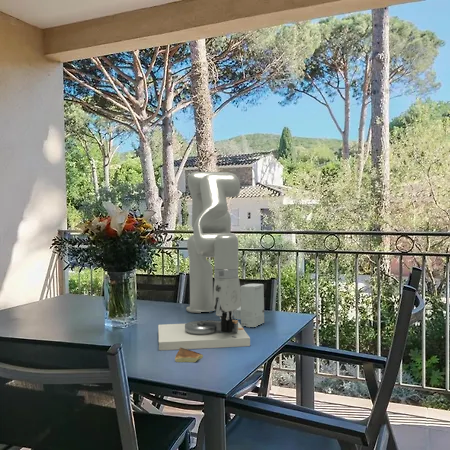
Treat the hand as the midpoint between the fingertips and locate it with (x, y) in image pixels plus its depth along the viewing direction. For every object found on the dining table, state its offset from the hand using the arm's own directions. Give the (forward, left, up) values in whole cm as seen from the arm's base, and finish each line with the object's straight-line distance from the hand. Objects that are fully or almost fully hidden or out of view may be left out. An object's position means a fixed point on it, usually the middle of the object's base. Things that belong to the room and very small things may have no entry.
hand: (226, 331), depth 155 cm
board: (-7, -7, -4) cm, 10 cm away
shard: (+12, -15, -4) cm, 20 cm away
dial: (-5, -4, -1) cm, 7 cm away
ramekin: (-33, +12, -4) cm, 35 cm away
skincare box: (-22, +13, -4) cm, 25 cm away
